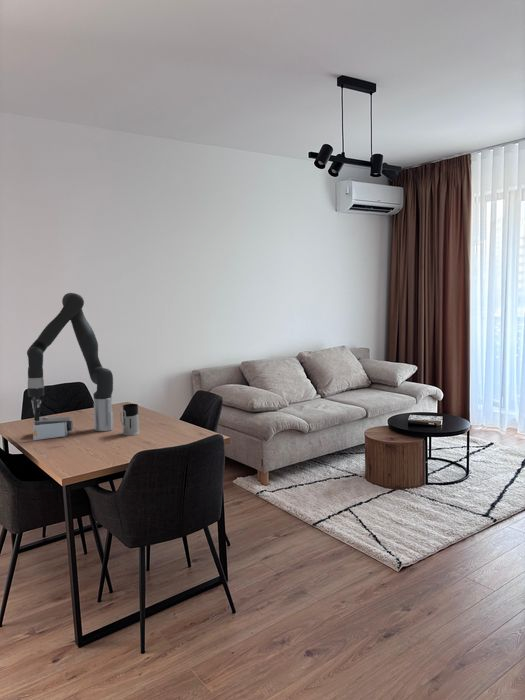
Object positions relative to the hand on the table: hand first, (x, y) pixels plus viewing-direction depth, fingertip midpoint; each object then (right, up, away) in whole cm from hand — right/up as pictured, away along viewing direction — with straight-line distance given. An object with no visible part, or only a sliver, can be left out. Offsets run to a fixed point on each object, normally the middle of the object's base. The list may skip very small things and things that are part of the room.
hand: (36, 420), depth 273 cm
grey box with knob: (+4, -8, +10) cm, 14 cm away
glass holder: (+44, -9, +9) cm, 45 cm away
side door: (+6, -9, +1) cm, 11 cm away
